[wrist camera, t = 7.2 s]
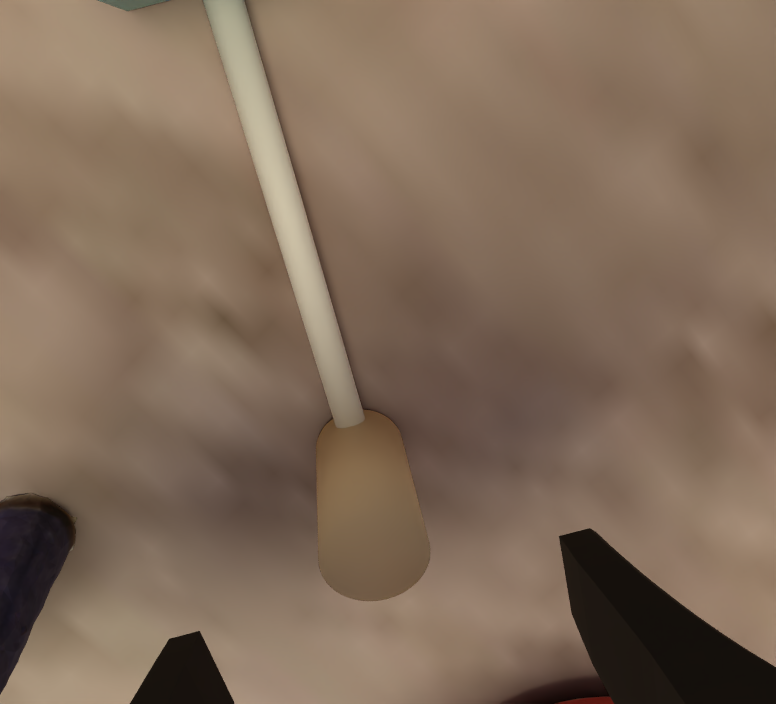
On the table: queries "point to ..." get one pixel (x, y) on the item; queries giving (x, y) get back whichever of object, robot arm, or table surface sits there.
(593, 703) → the plant pot
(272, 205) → the toy mallet
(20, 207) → the table surface
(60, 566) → the flask
